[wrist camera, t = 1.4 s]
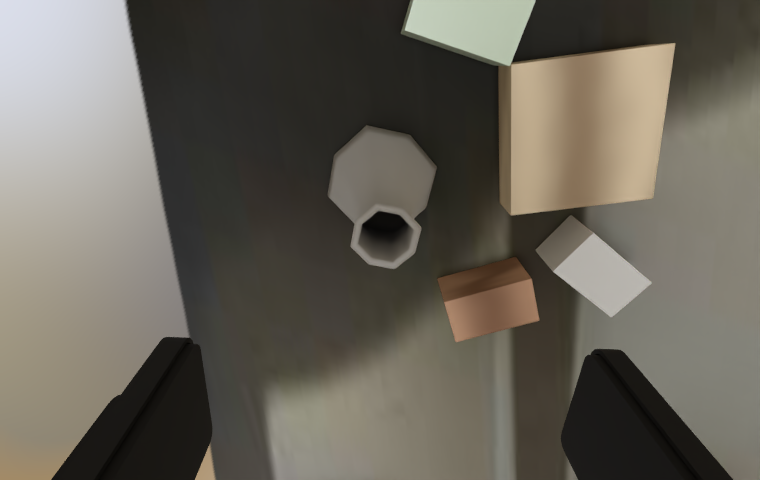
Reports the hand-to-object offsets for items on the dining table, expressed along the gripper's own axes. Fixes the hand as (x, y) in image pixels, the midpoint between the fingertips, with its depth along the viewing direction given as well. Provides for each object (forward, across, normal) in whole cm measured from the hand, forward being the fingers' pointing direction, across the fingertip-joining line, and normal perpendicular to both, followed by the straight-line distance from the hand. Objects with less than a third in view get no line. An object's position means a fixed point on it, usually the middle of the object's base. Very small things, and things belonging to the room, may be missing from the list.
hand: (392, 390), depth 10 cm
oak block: (+20, -12, -4) cm, 24 cm away
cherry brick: (+20, -8, +8) cm, 23 cm away
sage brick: (+20, -4, -10) cm, 23 cm away
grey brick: (+20, -15, +5) cm, 26 cm away
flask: (+20, 0, 0) cm, 20 cm away
